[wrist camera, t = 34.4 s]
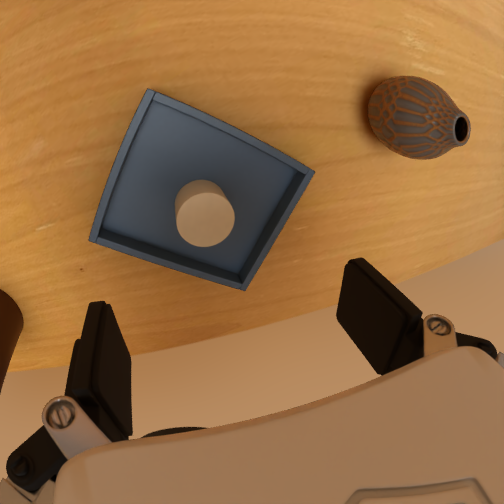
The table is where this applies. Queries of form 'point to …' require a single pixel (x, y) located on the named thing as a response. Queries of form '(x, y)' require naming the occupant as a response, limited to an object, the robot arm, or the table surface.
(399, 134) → the vase
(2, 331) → the bottle
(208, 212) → the cap
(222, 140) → the tray
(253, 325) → the table surface
